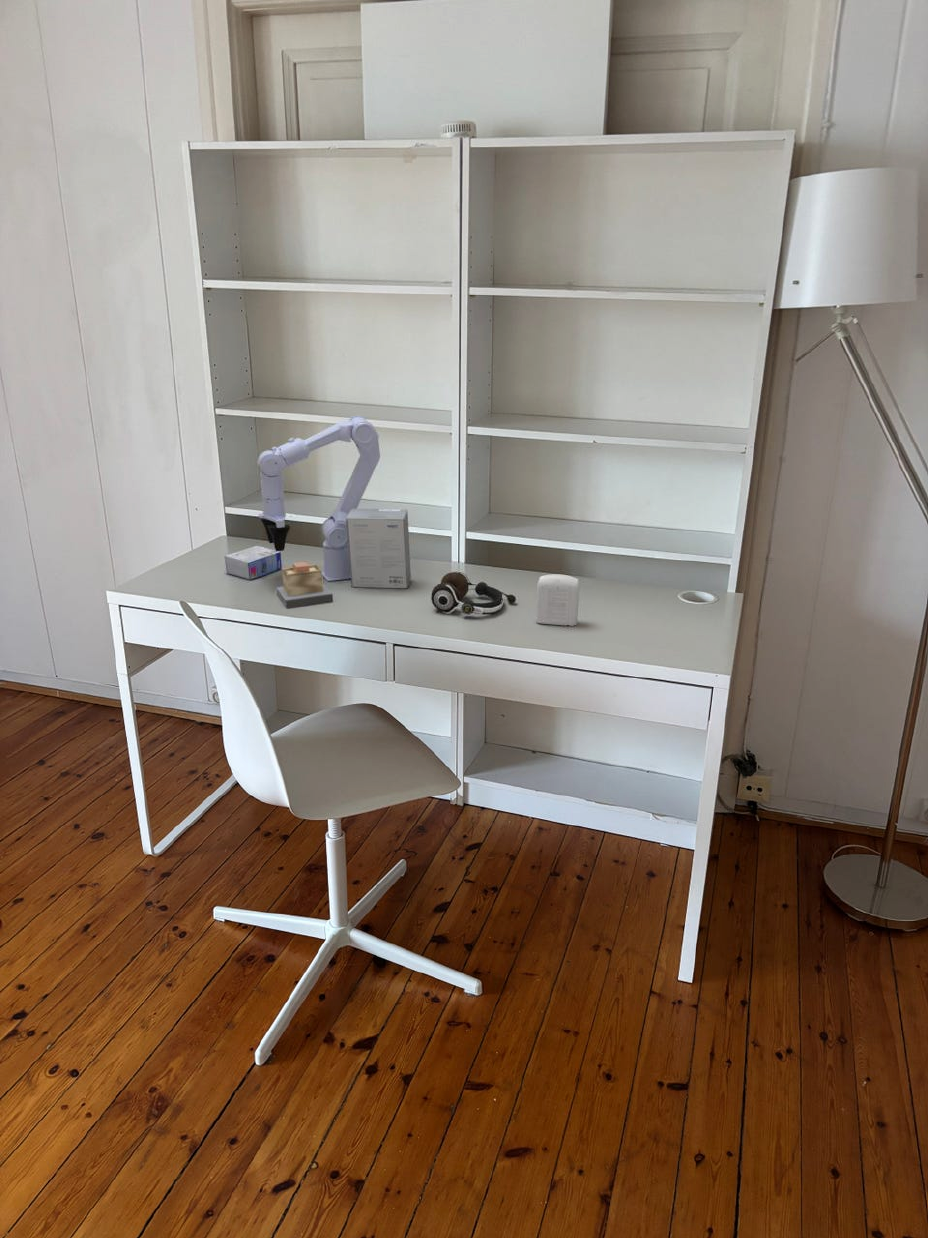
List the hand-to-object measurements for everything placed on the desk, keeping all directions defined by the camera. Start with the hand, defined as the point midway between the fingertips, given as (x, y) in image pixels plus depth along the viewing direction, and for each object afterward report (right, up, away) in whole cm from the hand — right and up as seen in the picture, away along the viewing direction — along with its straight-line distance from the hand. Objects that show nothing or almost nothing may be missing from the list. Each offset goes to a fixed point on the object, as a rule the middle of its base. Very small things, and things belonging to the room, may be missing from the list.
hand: (276, 546), depth 242 cm
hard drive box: (+28, -10, +2) cm, 30 cm away
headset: (+53, -17, -12) cm, 57 cm away
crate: (+9, -7, -11) cm, 16 cm away
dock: (+9, -14, -8) cm, 18 cm away
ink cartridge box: (-12, -6, +5) cm, 14 cm away
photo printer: (+73, -21, -22) cm, 79 cm away
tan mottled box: (+9, -12, -9) cm, 17 cm away
